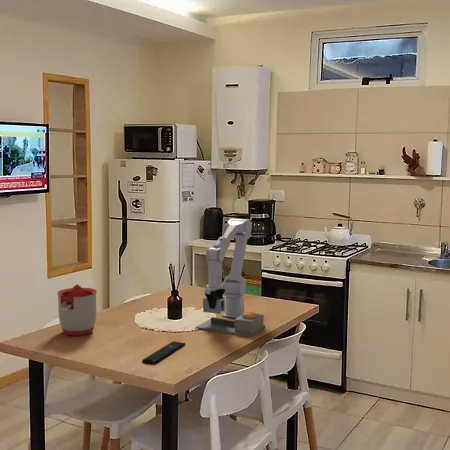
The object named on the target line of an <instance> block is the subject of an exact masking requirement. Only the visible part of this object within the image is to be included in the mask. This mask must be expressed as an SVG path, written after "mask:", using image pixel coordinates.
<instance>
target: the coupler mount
mask: <svg viewBox="0 0 450 450" xmlns="http://www.w3.org/2000/svg"><path fill="white" fill-rule="evenodd" d="M244 312H245V313H242V315H241V316H239V317H237V318H234V319H230V318H229V319H228V318H221V317H216V316H215V317H214V316H212V317H210V319H208V320H205V321H204V322H202V323H200V324H198V325H196V326H195V329H196V328H200V329H199V330H201V329H202V331H208V332H209V331H210V332H213V333H214V332H216V333H221V332H222V334H228V333H229V334H230V335H234V334H236V336H241V335H243V336H242V337H247V336H249V337H250V338H251V337H252V335H253V336H255V334H257V333H258V332H260V331H261V330H263V329H265V327H266V324H264V323H265V322H264V321H265V319H264V317H265V315H264V314H262V313H256V312H253V311H244ZM229 334H228V335H229ZM249 337H248V338H249Z"/></svg>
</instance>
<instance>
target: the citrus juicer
mask: <svg viewBox="0 0 450 450" xmlns="http://www.w3.org/2000/svg"><path fill="white" fill-rule="evenodd" d="M97 292H98V290H97V289H95V288H90V287H82V286H81V285H79V284H75V285H74V286H73V287H69V288H65V289H61V290H59V291H57V298H58V299H57V300H58V301H57V305H58V320H59V324H60V327H61V331H62V332H63V334H64V335H68V336H79V337H81V336H85V335H88V334H90V333H92V332H93V331H94V329H95V328H94V327H95V324H96V320H97Z"/></svg>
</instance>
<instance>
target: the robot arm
mask: <svg viewBox="0 0 450 450" xmlns="http://www.w3.org/2000/svg"><path fill="white" fill-rule="evenodd" d="M226 225H227V228H226V230H225V232H224V234H223V235H222V236H220V237H218V238H217V240H216V241H215V242H214V244H213V245H212V247H209V248H207V250H206V252H205V259H206V265H207V266H208V268H207V269H208V271H207V274H208V278H207V279H208V284H206V285H205V287H206V288H205V290H204V297H206V298H207V300H208V303H209V308H210V309H215V304H216V298H217V297H225V313H223V314H222V315H221V316H222V317H227V318H233V319H236V318H237V317H239V316H241V315H242V313H245V312H246V311H245V298H244V296H245V294H246V291H247V287H246V286H247V285H246V284H247V281H246V279H245V278H244V277H243V276H242V273H243V272H242V271H243V266H244V261H245V256H246V255H245V254H246V250H247V249H246V248H247V243H248V240H249V239H251V233H252V230H253V225H252V221H251V219H249V218H233V217H230V218H229V219H228V220H227V224H226ZM233 238H234V239H235V245H234V249H233V257H232V261H231V266H230V272H229V274H227V275H226V276H225V277H224V280H223V278H222V277H223V261H224V260H225V257H226V251H228V249H229V247H230V245H231V240H232V239H233Z"/></svg>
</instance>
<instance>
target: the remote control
mask: <svg viewBox="0 0 450 450" xmlns="http://www.w3.org/2000/svg"><path fill="white" fill-rule="evenodd" d="M184 346H186V343H185V342H179V341H174V340H173V341H171V342H170V343H168V344H166V345H165V346H163V347H161V348H160V349H158V350H156V351H154V352H153V353H152V354H150V355H148V356H147V357H144V358H143V359H142V361H141V362H142V364H147V365H157V364H158V363H160V362H161V361H162V360H164V359H166V358H167V357H169V356H170V355H172V354H173V353H175V352H177V351H178V350H180V349H181V348H183V347H184Z"/></svg>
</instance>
